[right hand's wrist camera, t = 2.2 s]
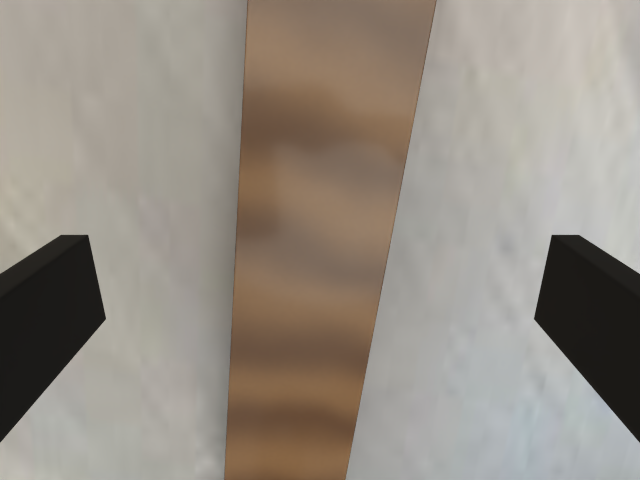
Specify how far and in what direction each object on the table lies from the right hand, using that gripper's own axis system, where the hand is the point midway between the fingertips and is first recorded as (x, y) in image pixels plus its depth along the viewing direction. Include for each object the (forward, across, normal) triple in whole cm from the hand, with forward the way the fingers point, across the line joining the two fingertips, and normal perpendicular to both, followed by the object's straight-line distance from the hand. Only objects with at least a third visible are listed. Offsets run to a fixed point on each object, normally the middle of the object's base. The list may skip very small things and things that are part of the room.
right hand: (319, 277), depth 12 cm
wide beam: (+18, -3, -23) cm, 29 cm away
